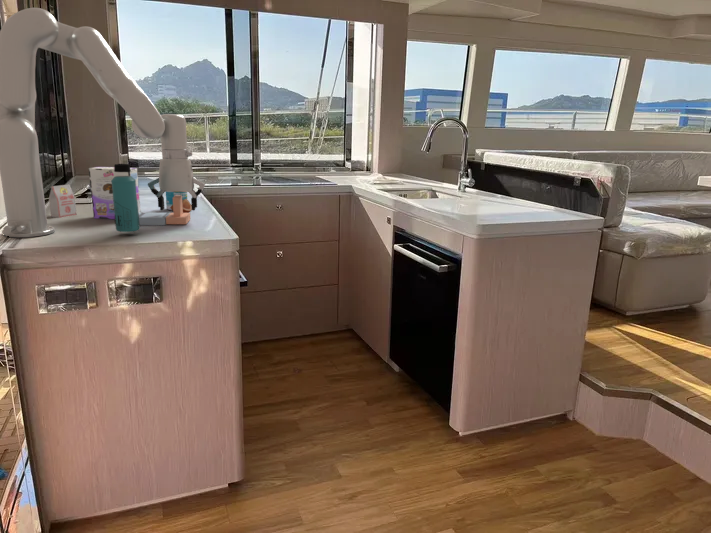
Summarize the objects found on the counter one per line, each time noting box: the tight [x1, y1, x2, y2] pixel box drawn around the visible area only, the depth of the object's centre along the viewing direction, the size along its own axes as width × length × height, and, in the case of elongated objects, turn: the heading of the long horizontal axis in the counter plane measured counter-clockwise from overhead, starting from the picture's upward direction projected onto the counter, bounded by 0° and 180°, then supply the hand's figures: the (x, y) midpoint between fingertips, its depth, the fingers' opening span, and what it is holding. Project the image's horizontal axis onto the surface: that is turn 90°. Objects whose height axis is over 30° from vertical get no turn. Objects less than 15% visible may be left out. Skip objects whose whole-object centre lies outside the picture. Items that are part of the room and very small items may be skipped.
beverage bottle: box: [111, 163, 141, 233], centre depth 150 cm, size 6×7×20 cm
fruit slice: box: [170, 198, 193, 213], centre depth 187 cm, size 8×7×5 cm
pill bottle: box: [165, 192, 188, 211], centre depth 195 cm, size 8×7×14 cm
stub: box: [166, 195, 191, 225], centre depth 171 cm, size 9×6×8 cm, turn 8°
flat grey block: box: [139, 212, 171, 226], centre depth 171 cm, size 9×11×2 cm
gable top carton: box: [48, 184, 78, 219], centre depth 177 cm, size 4×7×10 cm, turn 158°
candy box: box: [88, 166, 142, 220], centre depth 175 cm, size 14×6×16 cm, turn 84°
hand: (178, 209), depth 171 cm, fingers open, 9 cm apart
